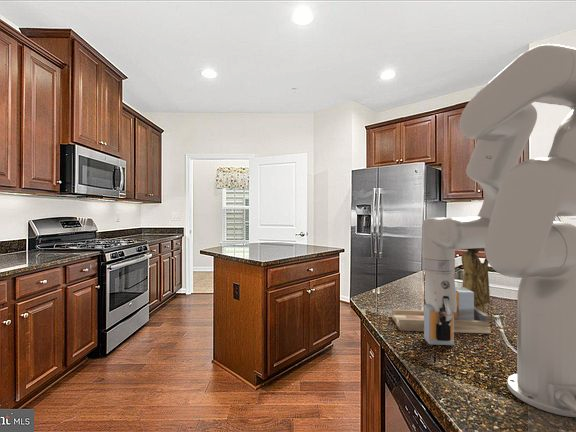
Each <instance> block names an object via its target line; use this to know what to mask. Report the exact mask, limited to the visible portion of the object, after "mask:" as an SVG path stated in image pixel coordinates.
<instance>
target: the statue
mask: <svg viewBox="0 0 576 432" xmlns="http://www.w3.org/2000/svg"><path fill="white" fill-rule="evenodd" d="M480 250H481V248H472V249H467V251H465V252H463V253H462V255H461V257H460V258H461V265H462V268H463V276H462V283H461V284H462V285H461V286H462V287H465V288H467V289H469V290H470V291H472V292H474V307H475V308H477V309H479V310H480V311H482V312H483V313H485V314H486V315H488V312H487V311H486V308H485V305H486V304H490V303H491V295H490V282H489V281H490V280H489V263H488V261H487V258H486V257H485V259H484V261H483V262H481V259H480V258H479V255H477V254H478V253H479V252H480Z"/></svg>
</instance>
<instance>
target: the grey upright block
mask: <svg viewBox="0 0 576 432" xmlns="http://www.w3.org/2000/svg"><path fill="white" fill-rule="evenodd" d="M423 310H424V331H423V339H424V340H425V341H426V342H427V344H428V345H437V346H440V345H442V346H443V345H444V346H455V332H454V313H452V314H453V317H452V318H451V325H450V341H438V340H437V339H436V324H438V321H437V312H435V311H434V310H433V309H432V308H431V307H430V306H429V305H428V304H426V303H425V304H423ZM439 312H444V309H440V311H439ZM440 315H441V318H442V316H444V314H440Z"/></svg>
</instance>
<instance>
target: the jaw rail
mask: <svg viewBox="0 0 576 432" xmlns="http://www.w3.org/2000/svg"><path fill="white" fill-rule="evenodd" d="M455 288H456V306H457V311H456V313H454V333H463V334H464V333H465V334H466V333H467V334H491V332H492V331H491V327H490V318H489V317H490V316H489V315H488V314H487V315H486V314H485V313H483V312H482V311H480V310H479V309H477V308H475V307H474V292H472V291H470V290H469V289H467V288H465V287H458V286H457V287H456V286H455ZM391 318H392V320H393V322H394V323H395V324H396V326H397V327H398V329H399V331H404V332H405V331H406V332H408V331H410V332H411V331H412V332H424V309H394V308H393V309H391Z"/></svg>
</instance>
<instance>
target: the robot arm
mask: <svg viewBox="0 0 576 432" xmlns="http://www.w3.org/2000/svg"><path fill="white" fill-rule="evenodd" d="M533 103H540V104H547V105H548V104H549V105H558V106H563V107H564V106H565V107H567V108H569V109H570V110H571V111H570V112H569V113H568V114H567V116H565V118H564V119H563V120H562V121H561V123H560V124H559V126H558V128H557V129H556V132H555V134H554V137H553V140H552V145H551V146H550V150H549V153H548V155H547V157H535V158H530V159H529V158H528V159H526V160H524V161H521V162H519V161H520V158H521V156H522V154H523V152H524V150H525V148H526V145H527V143H528V141H529V138H530V137H531V135H532V133H533V130H534V128H535V126H536V123H537V119H538V110H537V108H536V107H535V105H533ZM459 129H460V132H461V133H462V135H463V136H464V137H466V138H468V139H471V140H477V141H476V144H475V145H474V149H473V151H472V153H471V156H470V158H469V162H468V164H467V166H466V168H465V172H466V176H467V177H468V178H469V179H471V180H472V181H474V182H475V183H477V184H479V186H480V187H481V189H482V191H483V202H482V205H481V207H480V210H479V212H478V214H477V215H476V216H457V217H455V216H453V217H427V218H425V219H424V220H423V221H422V271H423V272H424V273H425V276H424V301H425V304H428V305H429V306H430V307H431V308H432V309H433V310H434V311H435V312H437V321H438V324H436V339H437V340H438V341H450V325H451V318H452V317H453V314H452V313H456V311H457V306H456V288H455V287H456V281H455V275H454V273H456V272H455V271H456V250H468V249H472V248H480V249H484V255H485V259H486V258H487V261H488V265H489V267H491V268H492V269H493V270H494V271H495V272H497V274H500V275H502V276H504V277H509V278H515V279H516V278H518V279H519V278H521V279H520V281H519V285H518V289H517V298H516V299H517V300H516V301H517V304H516V305H517V306H516V312H517V313H516V349H517V350H516V356H517V357H516V361H517V362H516V365H517V366H516V367H517V368H516V373H514V374H511V375H509V376H508V378H507V380H506V381H507V382H506V386H507V388H508V391H510V393H511V394H512V395H514V396H515V397H516V398H517V399H518V400H520V401H522V402H523V403H526V404H527V405H529V406H531V407H533V408H536V409H538V410H542V411H545V412H547V413H550V414H555V415H558V416H563V417H569V418H576V225H574V224H571V223H567V222H564V221H559V220H558V221H557V220H555V219H556V218H557V217H576V48H575V47H570V46H565V45H561V44H555V43H553V44H550V43H547V44H540V45H537V46H534V47H532V48H529V49H528V50H526V51H525V52H523V53H521V54H520V55H519V56H518V57H516V58H515V59H514V60H513V61H512V62H511V63H509V64H508V65H507V66H506V67H504V69H502V71H500V72H499V73H498V74H497V75H496V76H494V77H493V78H492V79H491V80H490V81H488V83H487V84H485V85H484V86H483V87H481V89H480V90H479V91H478V92H476V94H474V96H473V97H472V98H471V99H470V100H469V101H468V103H467V104H466V105H465V107H464V109H463V110H462V113H461V114H460V118H459ZM440 309H444V312H439V311H440ZM440 314H444V316H442V318H441V315H440Z"/></svg>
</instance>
